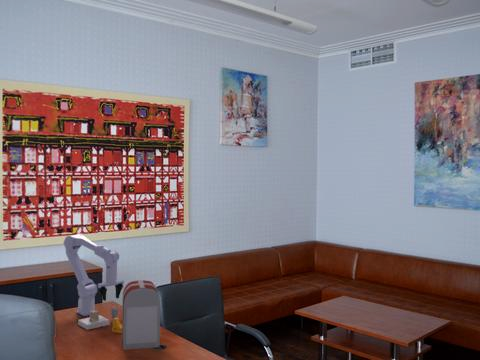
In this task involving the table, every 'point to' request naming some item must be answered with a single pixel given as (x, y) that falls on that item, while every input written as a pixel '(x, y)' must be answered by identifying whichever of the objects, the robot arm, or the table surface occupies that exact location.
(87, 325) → the socket block
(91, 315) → the square peg
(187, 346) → the table surface
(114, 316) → the round peg
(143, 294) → the grey arched box
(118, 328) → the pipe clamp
